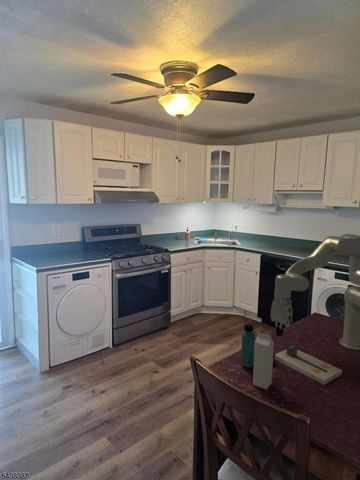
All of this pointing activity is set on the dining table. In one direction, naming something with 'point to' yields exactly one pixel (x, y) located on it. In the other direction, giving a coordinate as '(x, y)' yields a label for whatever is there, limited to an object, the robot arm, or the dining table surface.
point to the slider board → (309, 366)
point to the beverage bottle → (248, 346)
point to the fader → (291, 350)
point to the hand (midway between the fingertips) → (279, 335)
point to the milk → (263, 361)
